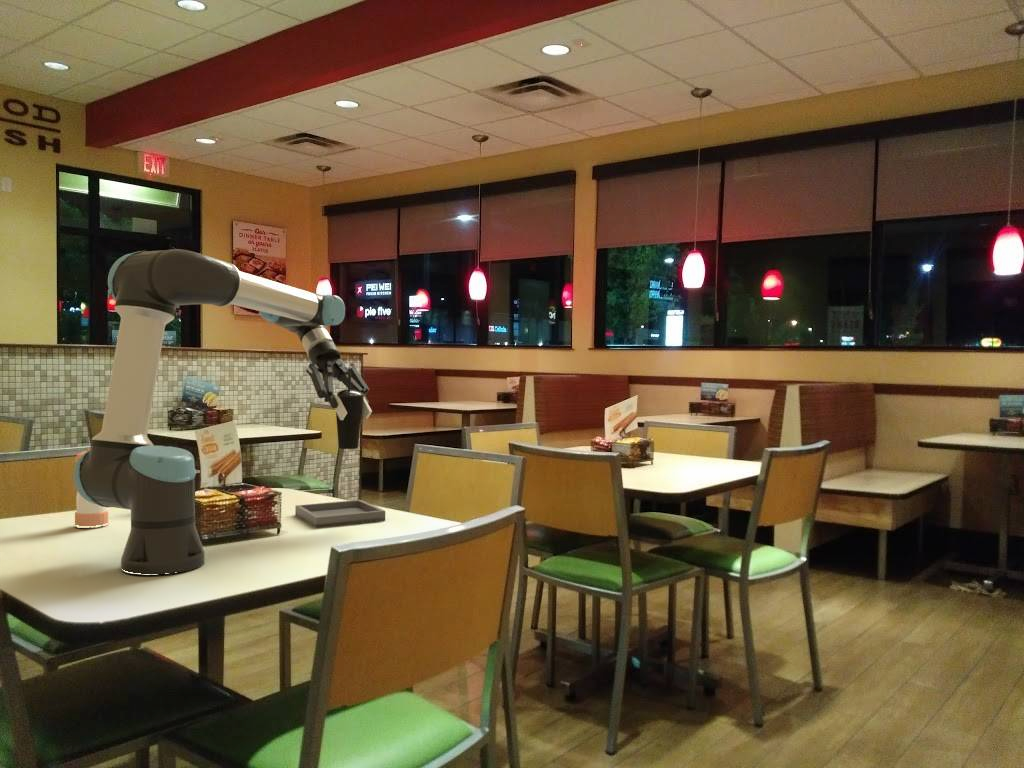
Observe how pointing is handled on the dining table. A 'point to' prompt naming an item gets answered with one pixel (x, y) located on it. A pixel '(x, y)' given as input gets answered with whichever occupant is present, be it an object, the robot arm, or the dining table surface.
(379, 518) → the serving tray
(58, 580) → the dining table surface
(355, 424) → the drinking cup
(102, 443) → the robot arm
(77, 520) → the pepper shaker
